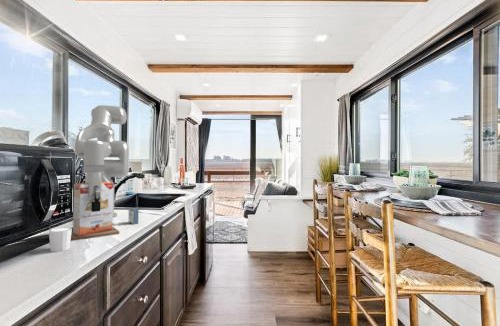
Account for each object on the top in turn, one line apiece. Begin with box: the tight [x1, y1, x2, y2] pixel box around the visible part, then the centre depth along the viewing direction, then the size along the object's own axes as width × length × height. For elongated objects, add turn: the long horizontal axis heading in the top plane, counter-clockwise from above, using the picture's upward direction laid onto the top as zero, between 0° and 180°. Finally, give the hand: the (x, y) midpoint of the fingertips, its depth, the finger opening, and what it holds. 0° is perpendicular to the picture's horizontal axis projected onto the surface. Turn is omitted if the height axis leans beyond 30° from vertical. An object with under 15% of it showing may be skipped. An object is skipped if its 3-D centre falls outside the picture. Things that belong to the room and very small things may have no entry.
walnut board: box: [70, 226, 120, 242], centre depth 119 cm, size 11×18×1 cm, turn 129°
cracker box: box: [72, 182, 114, 236], centre depth 119 cm, size 14×6×21 cm, turn 146°
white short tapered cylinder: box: [48, 227, 73, 253], centre depth 99 cm, size 7×7×7 cm
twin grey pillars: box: [128, 207, 139, 225], centre depth 134 cm, size 6×25×7 cm, turn 129°
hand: (93, 209), depth 118 cm, fingers open, 9 cm apart
